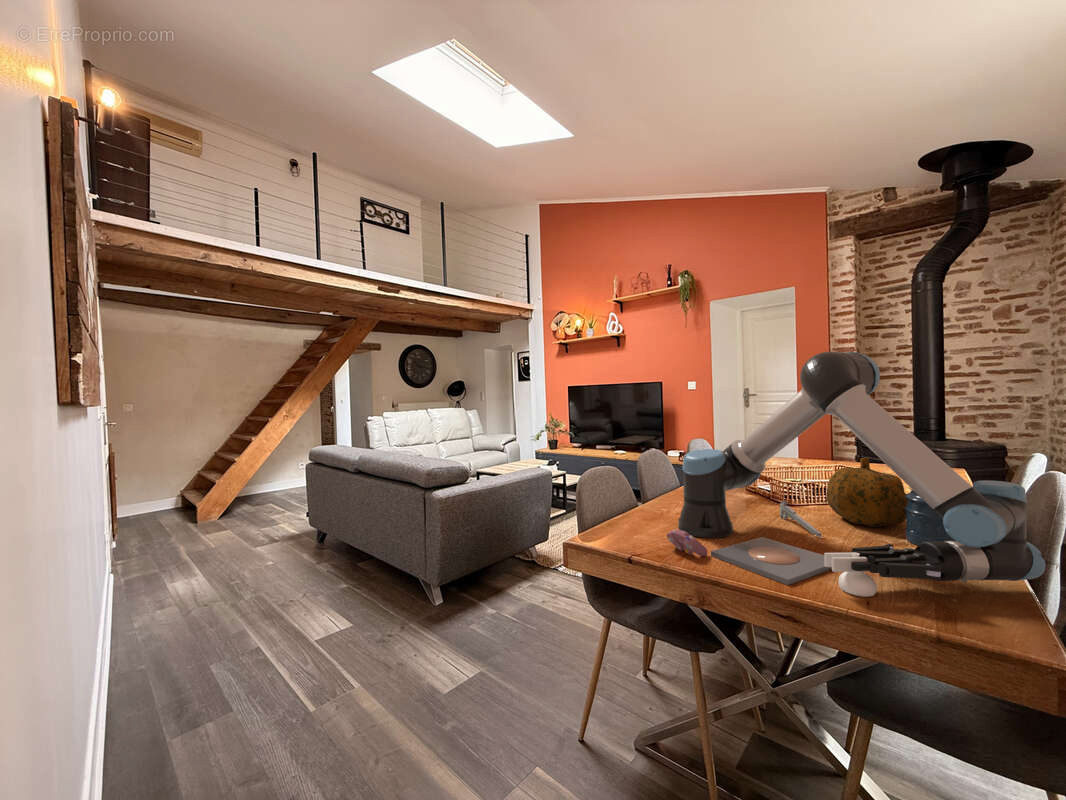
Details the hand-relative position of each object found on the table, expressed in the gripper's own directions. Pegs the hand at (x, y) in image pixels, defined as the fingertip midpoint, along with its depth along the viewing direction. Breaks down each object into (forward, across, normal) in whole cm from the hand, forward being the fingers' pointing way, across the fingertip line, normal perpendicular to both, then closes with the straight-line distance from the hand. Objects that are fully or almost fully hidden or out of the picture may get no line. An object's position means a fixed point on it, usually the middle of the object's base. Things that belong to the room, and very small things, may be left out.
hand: (829, 562), depth 91 cm
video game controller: (+22, +23, -6) cm, 33 cm away
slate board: (+3, +17, -6) cm, 18 cm away
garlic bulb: (-6, 0, -6) cm, 8 cm away
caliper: (-17, +42, -7) cm, 46 cm away
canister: (-43, +26, -6) cm, 51 cm away
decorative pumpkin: (-39, +46, -6) cm, 61 cm away
